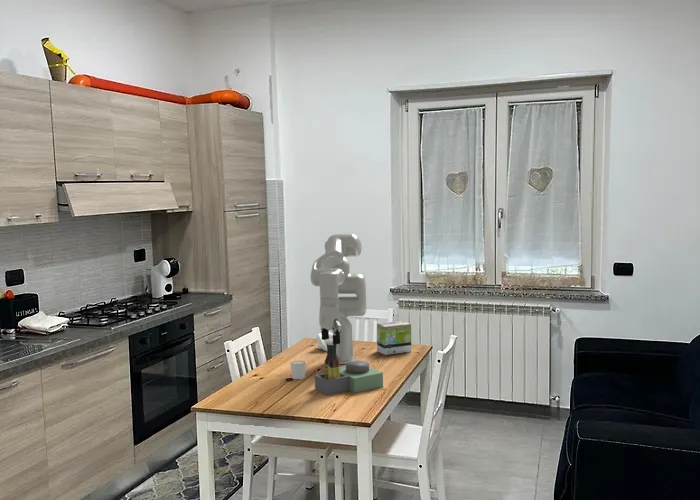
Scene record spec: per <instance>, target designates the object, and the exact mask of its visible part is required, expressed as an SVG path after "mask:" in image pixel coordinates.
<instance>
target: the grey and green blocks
mask: <svg viewBox="0 0 700 500" xmlns="http://www.w3.org/2000/svg"><path fill="white" fill-rule="evenodd" d="M383 387H384V372H382V371H381V370H378V369H376V368H372V367H370V363H369V362H368V361H366V360H356V361H350V362H347V363H346V364H345V366H340V377H339V378H334V379H329V380H326V379H325V372H324V373H317V374H315V375H314V388H315V390H316V391H319V392H320V393H322V394H323V393H324V395H325V396H330V395H333V394H339V393H344V392H348V391H351V392H352V393H354V394H355V393H359V392H364V391H369V390H370V391H371V390H373V389H379V388H383Z"/></svg>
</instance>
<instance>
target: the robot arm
mask: <svg viewBox="0 0 700 500" xmlns="http://www.w3.org/2000/svg"><path fill="white" fill-rule="evenodd" d="M362 249H363V247H362V242H361V240H360V238H359V236H358V235H356V234H354V233H348V234H347V233H345V234H344V233H341V234H338V233H337V234H333V235H330V236H329V237H328V238H327V240H326V241H325V243H324V250H325V253H324V254H322V255H321V256H319V257H318V258H317V259H315V261H313V263H312V267H311V271H310V282H311V285H313V286H314V287H319V298H320V299H319V302H320V304H319V314H318V317H319V319H318V320H319V321H318V323H319V324H318V325H319V326H320V333H321V335H322V340H326V339H329V332H330V331H331V333H333V345H337V347H336V352H337V353H336V354H337V356H338V357H339V365H346V363H347V362H350V361H357V357H355V356H354V345H353V343H354V342H353V338H354V337H353V324H352V322H351V321H350V320H349V318H348V317H363V316H365V315H366V312H367V290H366V289H367V286H366V285H367V284H366V279H365V276H364V275H363V274H362V273H350V272H351V271H350V262H349V260H348V259H347V257H359V256H360V255H361V254H362ZM339 294H340V295H356V296H339Z"/></svg>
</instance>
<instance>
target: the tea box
mask: <svg viewBox="0 0 700 500" xmlns="http://www.w3.org/2000/svg"><path fill="white" fill-rule="evenodd" d="M376 351H377V352H379V353H380V354H382V355H384V356H387V355H388V356H389V355H395V354H396V355H397V354H403V353H404V352H405V353H411V352H412V324H411V323H409V322H406V321H404V320H398V321H396V320H395V321H388V322H379V323H378V322H377V323H376ZM410 351H411V352H410Z"/></svg>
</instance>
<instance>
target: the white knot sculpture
mask: <svg viewBox="0 0 700 500" xmlns="http://www.w3.org/2000/svg"><path fill="white" fill-rule="evenodd" d="M316 342H317V343H316V347H317V349H319V350H323V351H324V352H327V343H331V342H333V332H330V331H329V339H326V340H322V335H321V332H320V333H319V332H318V334H316Z"/></svg>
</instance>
